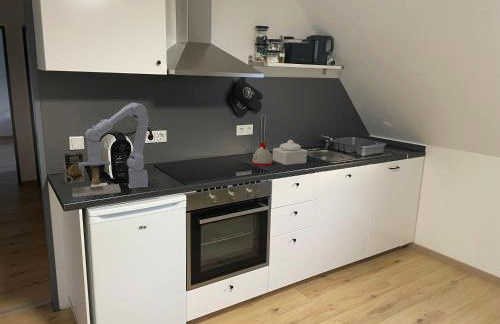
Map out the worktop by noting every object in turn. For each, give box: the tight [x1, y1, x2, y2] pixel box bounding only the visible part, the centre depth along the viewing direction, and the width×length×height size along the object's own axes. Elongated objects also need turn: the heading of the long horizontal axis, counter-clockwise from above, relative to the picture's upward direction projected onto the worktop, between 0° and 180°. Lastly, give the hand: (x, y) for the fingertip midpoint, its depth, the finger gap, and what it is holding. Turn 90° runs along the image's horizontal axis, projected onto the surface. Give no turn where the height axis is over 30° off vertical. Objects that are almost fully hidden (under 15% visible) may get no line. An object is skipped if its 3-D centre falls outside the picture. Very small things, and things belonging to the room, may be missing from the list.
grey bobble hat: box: [251, 141, 273, 167], centre depth 265 cm, size 14×14×15 cm
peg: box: [90, 167, 101, 185], centre depth 193 cm, size 4×4×8 cm
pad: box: [90, 182, 109, 186], centre depth 205 cm, size 8×8×1 cm
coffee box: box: [62, 152, 86, 185], centre depth 210 cm, size 9×6×16 cm
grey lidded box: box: [272, 139, 309, 166], centre depth 273 cm, size 18×18×16 cm
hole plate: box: [72, 183, 122, 198], centre depth 194 cm, size 22×11×2 cm, turn 114°
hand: (95, 180), depth 193 cm, fingers closed on peg, 4 cm apart
